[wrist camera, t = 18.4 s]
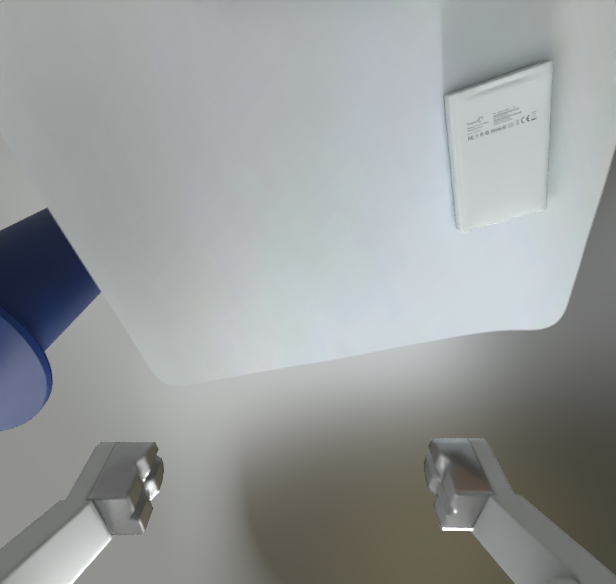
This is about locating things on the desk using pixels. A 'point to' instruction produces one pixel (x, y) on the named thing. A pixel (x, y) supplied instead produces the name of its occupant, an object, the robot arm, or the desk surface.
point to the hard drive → (500, 146)
